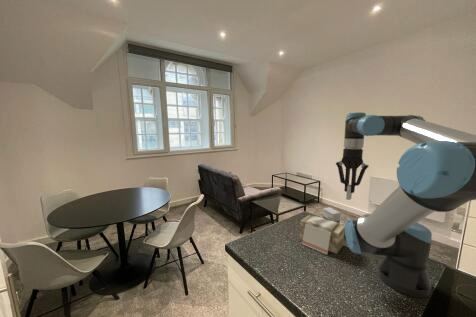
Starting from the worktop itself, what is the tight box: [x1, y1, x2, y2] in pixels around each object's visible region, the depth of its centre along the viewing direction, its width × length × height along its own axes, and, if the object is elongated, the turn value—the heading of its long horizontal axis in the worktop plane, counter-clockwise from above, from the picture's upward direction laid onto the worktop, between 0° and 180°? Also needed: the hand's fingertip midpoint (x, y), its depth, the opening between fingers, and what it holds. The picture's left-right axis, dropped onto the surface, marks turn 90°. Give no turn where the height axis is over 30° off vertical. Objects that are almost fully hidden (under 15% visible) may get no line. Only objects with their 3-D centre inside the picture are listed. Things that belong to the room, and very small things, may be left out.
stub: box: [301, 224, 331, 255], centre depth 93 cm, size 12×10×1 cm
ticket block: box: [299, 214, 345, 255], centre depth 98 cm, size 18×10×11 cm, turn 46°
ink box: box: [321, 206, 341, 224], centre depth 110 cm, size 8×5×12 cm, turn 17°
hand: (348, 198), depth 90 cm, fingers closed
